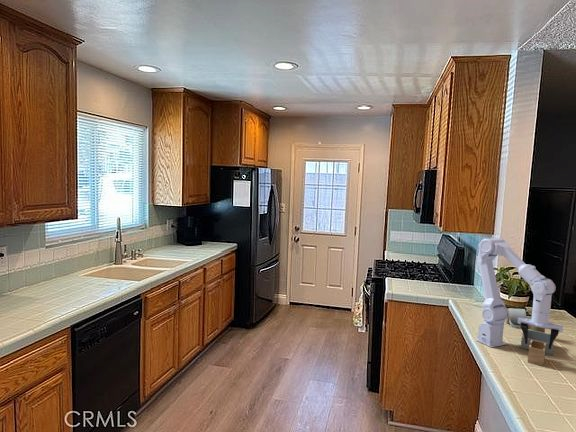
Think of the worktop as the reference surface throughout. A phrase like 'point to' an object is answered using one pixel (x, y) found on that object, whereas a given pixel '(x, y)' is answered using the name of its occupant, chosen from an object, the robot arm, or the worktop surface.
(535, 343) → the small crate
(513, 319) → the ceramic mug
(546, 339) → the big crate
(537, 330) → the cork
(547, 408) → the worktop surface
